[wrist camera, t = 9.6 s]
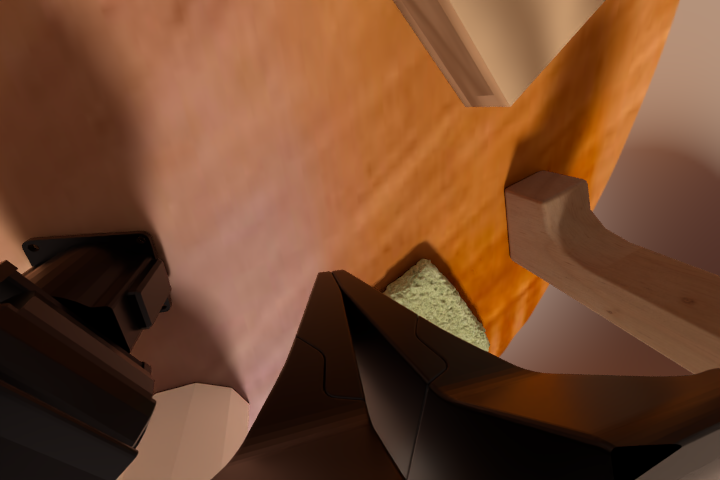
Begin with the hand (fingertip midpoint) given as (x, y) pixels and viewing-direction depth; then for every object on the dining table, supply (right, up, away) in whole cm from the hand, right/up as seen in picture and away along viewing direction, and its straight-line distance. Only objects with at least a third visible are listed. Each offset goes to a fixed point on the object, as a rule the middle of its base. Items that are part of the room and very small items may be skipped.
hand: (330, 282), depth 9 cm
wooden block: (+18, +4, +20) cm, 27 cm away
